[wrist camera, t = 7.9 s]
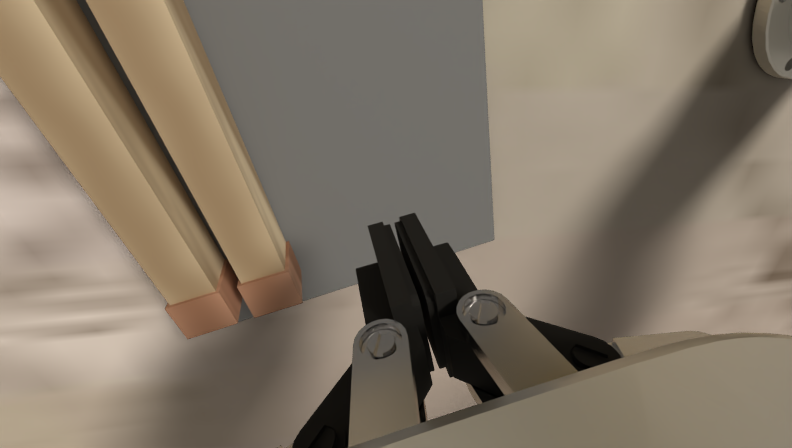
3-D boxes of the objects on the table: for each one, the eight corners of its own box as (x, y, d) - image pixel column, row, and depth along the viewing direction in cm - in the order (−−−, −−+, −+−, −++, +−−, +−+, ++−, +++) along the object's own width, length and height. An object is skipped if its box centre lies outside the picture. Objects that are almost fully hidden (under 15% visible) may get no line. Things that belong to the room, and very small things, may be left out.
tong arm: (-48, -566, 9) (-216, -857, 6) (301, 270, 23) (302, 306, 20) (-316, -563, 8) (-657, -891, 5) (214, 296, 23) (203, 337, 20)
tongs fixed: (-94, -534, 9) (-281, -803, 6) (284, 272, 23) (283, 308, 20) (-347, -525, 8) (-690, -819, 5) (201, 298, 23) (187, 339, 20)
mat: (434, -642, 11) (447, -700, 10) (488, 233, 27) (494, 239, 27) (-479, -637, 8) (-571, -715, 7) (200, 324, 25) (196, 335, 24)
